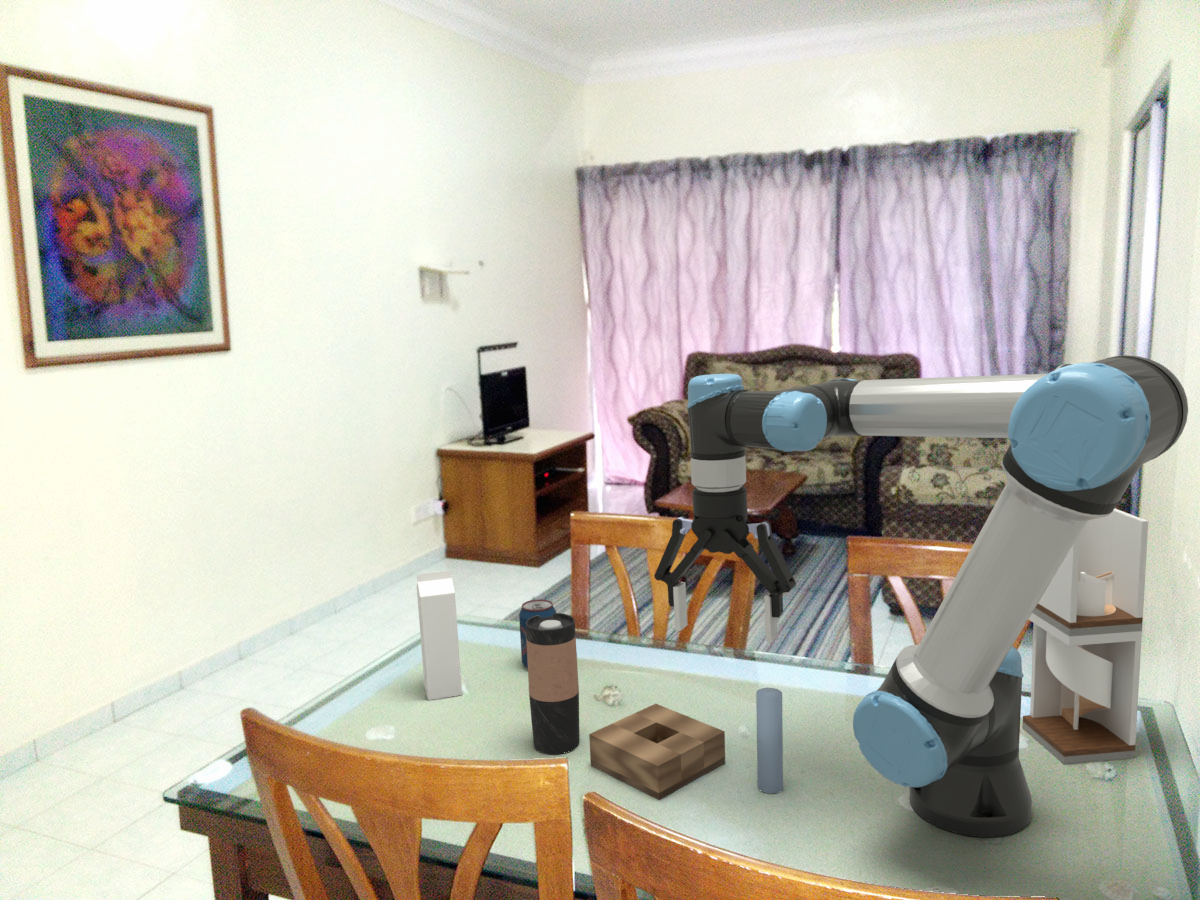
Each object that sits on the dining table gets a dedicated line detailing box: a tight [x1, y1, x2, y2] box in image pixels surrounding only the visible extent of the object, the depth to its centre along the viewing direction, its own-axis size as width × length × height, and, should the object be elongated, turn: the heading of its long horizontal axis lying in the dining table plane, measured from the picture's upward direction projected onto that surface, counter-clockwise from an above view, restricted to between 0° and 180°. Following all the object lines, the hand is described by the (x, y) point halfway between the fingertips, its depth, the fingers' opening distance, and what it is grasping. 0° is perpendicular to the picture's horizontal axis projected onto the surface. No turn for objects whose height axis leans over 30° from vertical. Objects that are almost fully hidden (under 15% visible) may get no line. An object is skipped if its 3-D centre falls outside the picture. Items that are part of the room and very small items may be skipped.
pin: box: [755, 687, 784, 794], centre depth 135 cm, size 4×4×14 cm
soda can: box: [518, 599, 557, 670], centre depth 181 cm, size 7×7×12 cm
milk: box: [416, 569, 463, 701], centre depth 171 cm, size 6×6×22 cm
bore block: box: [588, 703, 726, 801], centre depth 143 cm, size 14×14×5 cm
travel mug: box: [526, 612, 580, 755], centre depth 150 cm, size 8×8×20 cm
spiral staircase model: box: [1021, 507, 1149, 765], centre depth 142 cm, size 11×11×35 cm
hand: (725, 633), depth 138 cm, fingers open, 13 cm apart
